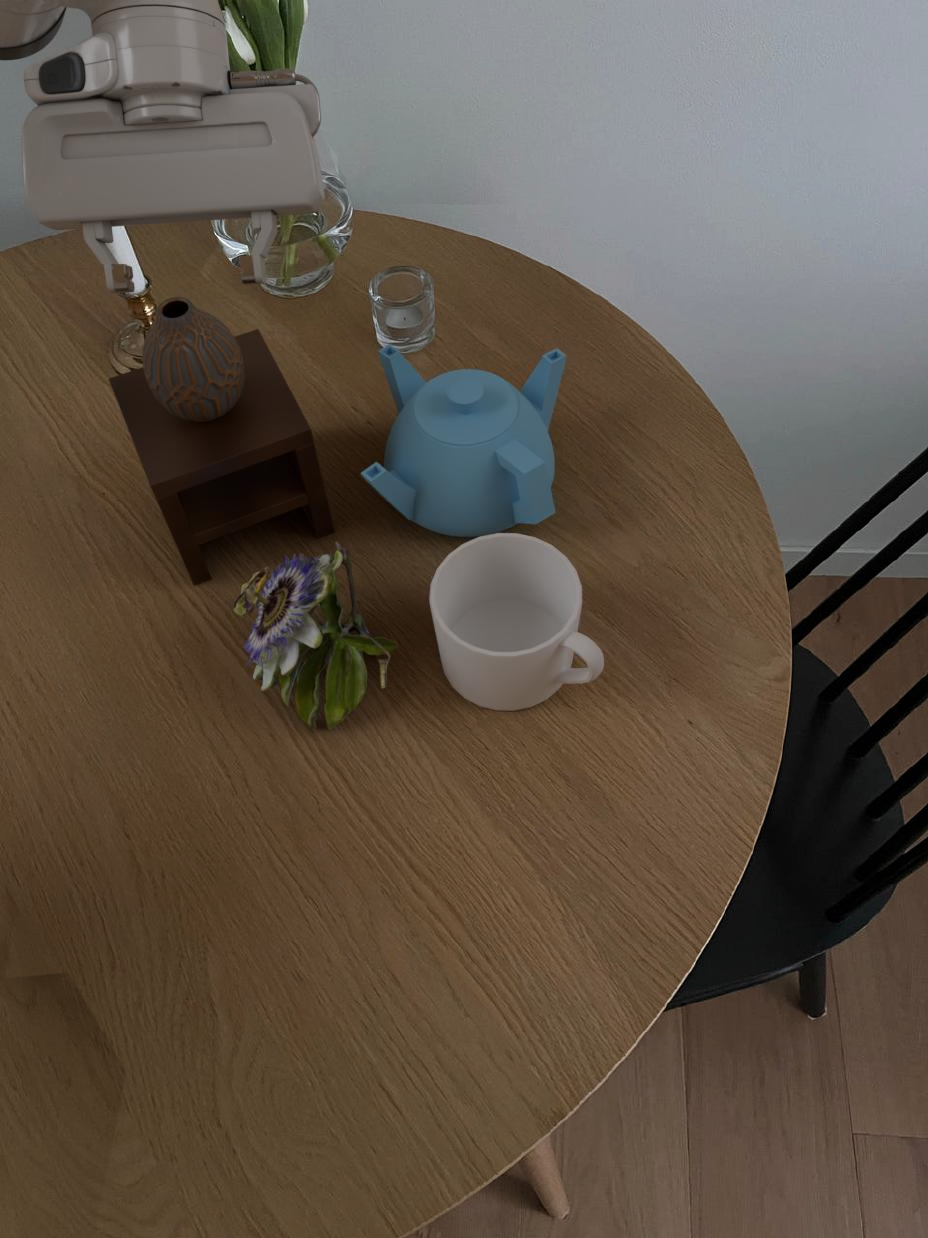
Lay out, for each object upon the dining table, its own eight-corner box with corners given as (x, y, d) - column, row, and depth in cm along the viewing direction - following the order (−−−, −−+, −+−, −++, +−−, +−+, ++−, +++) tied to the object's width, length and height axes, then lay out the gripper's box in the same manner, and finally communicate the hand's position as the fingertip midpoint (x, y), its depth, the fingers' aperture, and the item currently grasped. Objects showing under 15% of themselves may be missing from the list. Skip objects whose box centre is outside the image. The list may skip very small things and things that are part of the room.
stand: (193, 586, 84) (150, 486, 74) (153, 483, 90) (108, 378, 80) (335, 532, 86) (311, 428, 76) (286, 435, 93) (258, 328, 83)
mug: (407, 663, 79) (397, 602, 72) (496, 574, 83) (494, 508, 77) (550, 766, 74) (554, 710, 67) (637, 665, 78) (649, 603, 71)
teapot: (363, 551, 85) (345, 460, 76) (389, 415, 93) (375, 318, 84) (554, 561, 84) (558, 469, 75) (563, 422, 92) (568, 325, 83)
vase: (169, 369, 80) (134, 274, 73) (259, 369, 80) (233, 273, 73) (151, 437, 77) (112, 343, 69) (245, 436, 76) (217, 342, 69)
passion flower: (288, 688, 85) (242, 548, 80) (420, 662, 83) (379, 518, 79) (253, 758, 74) (198, 602, 70) (403, 730, 73) (355, 568, 68)
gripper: (323, 80, 75) (339, 283, 78) (36, 99, 75) (62, 301, 78) (310, 50, 69) (328, 272, 72) (-2, 71, 69) (28, 292, 72)
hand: (187, 287), depth 75 cm, fingers open, 8 cm apart
